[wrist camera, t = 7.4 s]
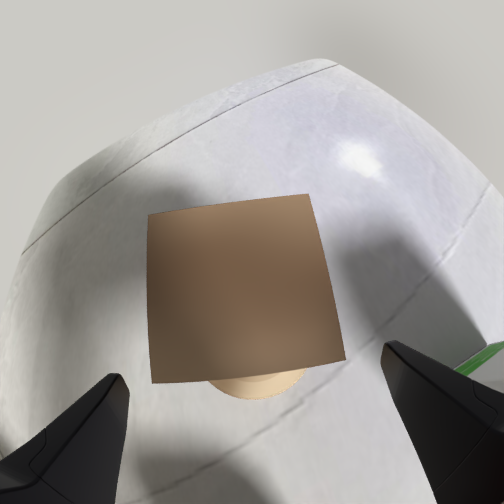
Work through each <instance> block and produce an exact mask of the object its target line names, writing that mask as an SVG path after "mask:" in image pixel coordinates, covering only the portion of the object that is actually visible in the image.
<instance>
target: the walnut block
mask: <svg viewBox="0 0 504 504" xmlns="http://www.w3.org/2000/svg"><path fill="white" fill-rule="evenodd" d="M147 319H148V339H149V355H150V367H151V378H152V384H153V383H182V382H199V381H212V380H224V379H234V378H243V377H251V376H259V375H266V374H273V373H280V372H286V371H292V370H298V369H304V368H309V367H315V366H320V365H325V364H329V363H334V362H339V361H343V360H346V357H345V351H344V346H343V340H342V335H341V329H340V324H339V319H338V314H337V309H336V304H335V300H334V295H333V290H332V286H331V281H330V277H329V272H328V268H327V264H326V259H325V255H324V251H323V247H322V243H321V239H320V235H319V231H318V227H317V223H316V219H315V216H314V212H313V208H312V205H311V201H310V197H309V194H300V195H290V196H281V197H272V198H263V199H254V200H246V201H238V202H231V203H223V204H216V205H209V206H202V207H195V208H188V209H182V210H175V211H169V212H163V213H157V214H151V215H148V232H147Z"/></svg>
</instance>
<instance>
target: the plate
mask: <svg viewBox="0 0 504 504" xmlns="http://www.w3.org/2000/svg"><path fill="white" fill-rule="evenodd" d="M306 369H307V368H304V369H298V370H292V371H286V372H280V373H273V374H266V375H259V376H251V377H243V378H234V379H224V380H212V381H209V382H210V383H211V384H212V385H213V386H215V387H216V388H217V389H219V390H221V391H222V392H224V393H226V394H228V395H231V396H234V397H237V398H242V399H253V400H256V399H264V398H269V397H272V396H275V395H277V394H280V393H282V392H283V391H285V390H287V389H288V388H290V387H291V386H292V385H294V384H295V383H296V382H297V381H298V380H299V379H300V377H301V376H302V375H303V374H304V372H305V370H306Z"/></svg>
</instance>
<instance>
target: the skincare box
mask: <svg viewBox="0 0 504 504" xmlns="http://www.w3.org/2000/svg"><path fill="white" fill-rule="evenodd" d="M453 370H455V371H457V372H459V373H461V374H463V375H465V376H467V377H469V378H471V379H472V380H475V381H477V382H479V383H481V384H483V385H485V386H488V387H490V388H492V389H494V390H497V391H499V392H502V393H504V341H501V342H497V343H493V344H489V345H487V346H486V347H485V348H483V349H482V350H481V351H479V352H478V353H476V354H475V355H473V356H472V357H470V358H469V359H467V360H466V361H465V362H463V363H462V364H460V365H459V366H457V367H456V368H454V369H453Z"/></svg>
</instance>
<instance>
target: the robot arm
mask: <svg viewBox="0 0 504 504" xmlns="http://www.w3.org/2000/svg"><path fill="white" fill-rule="evenodd" d="M381 367H382V370H383V373H384V376H385V379H386V381H387V384H388V387H389V390H390V393H391V396H392V399H393V401H394V404H395V406H396V408H397V410H398V412H399V414H400V417H401V419H402V421H403V423H404V425H405V427H406V430H407V432H408V434H409V436H410V439H411V441H412V443H413V445H414V448H415V450H416V452H417V455H418V457H419V459H420V462H421V464H422V466H423V469H424V471H425V474H426V476H427V478H428V481H429V483H430V486H431V488H432V491H433V494H434V497H435V499H436V502H437V504H504V393H502V392H499V391H497V390H494V389H492V388H490V387H488V386H485V385H483V384H481V383H479V382H477V381H475V380H472V379H471V378H469V377H467V376H465V375H463V374H461V373H459V372H457V371H455V370H453V369H451V368H449V367H447V366H445V365H443V364H441V363H439V362H437V361H435V360H434V359H432V358H430V357H428V356H426V355H424V354H422V353H420V352H418V351H416V350H414V349H412V348H410V347H408V346H406V345H404V344H402V343H400V342H398V341H396V340H393V341H389V342H386V343H385V344H384V346H383V351H382V356H381ZM129 397H130V393H129V389H128V387H127V385H126V383H125V381H124V379H123V377H122V375H121V374H119V373H109V374H108V375H107V376H105V377H104V378H103V379H102V380H101V381H99V382H98V383H97V384H96V385H95V386H94V387H92V388H91V389H90V390H89V391H88V392H87V393H85V394H84V395H83V396H82V397H81V398H80V399H78V400H77V401H76V402H75V403H74V404H72V405H71V406H70V407H69V408H68V409H67V410H65V411H64V412H63V413H62V414H61V415H60V416H58V417H57V418H56V419H55V420H54V421H52V422H51V423H50V424H49V425H48V426H47V427H46V428H44V429H43V430H42V431H41V432H39V433H38V434H37V435H36V436H35V437H33V438H32V439H31V440H30V441H28V442H27V443H25V444H24V445H23V446H21V447H20V448H18V449H17V450H16V451H14V452H13V453H11V454H10V455H8V456H7V457H5V458H4V459H2V460H1V461H0V504H115V497H116V489H117V483H118V476H119V470H120V464H121V458H122V452H123V447H124V441H125V436H126V430H127V418H128V407H129Z"/></svg>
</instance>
